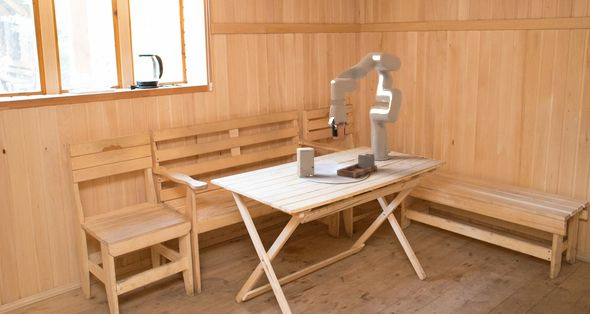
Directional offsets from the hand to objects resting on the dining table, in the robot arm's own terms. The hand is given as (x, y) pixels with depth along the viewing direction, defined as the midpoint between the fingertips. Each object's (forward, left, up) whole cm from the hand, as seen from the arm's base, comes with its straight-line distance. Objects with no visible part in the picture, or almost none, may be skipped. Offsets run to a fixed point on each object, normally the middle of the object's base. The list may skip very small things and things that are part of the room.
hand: (338, 135), depth 306 cm
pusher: (-10, +12, -18) cm, 24 cm away
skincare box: (+19, -8, -20) cm, 29 cm away
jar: (0, 0, -2) cm, 2 cm away
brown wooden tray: (0, +12, -20) cm, 23 cm away
